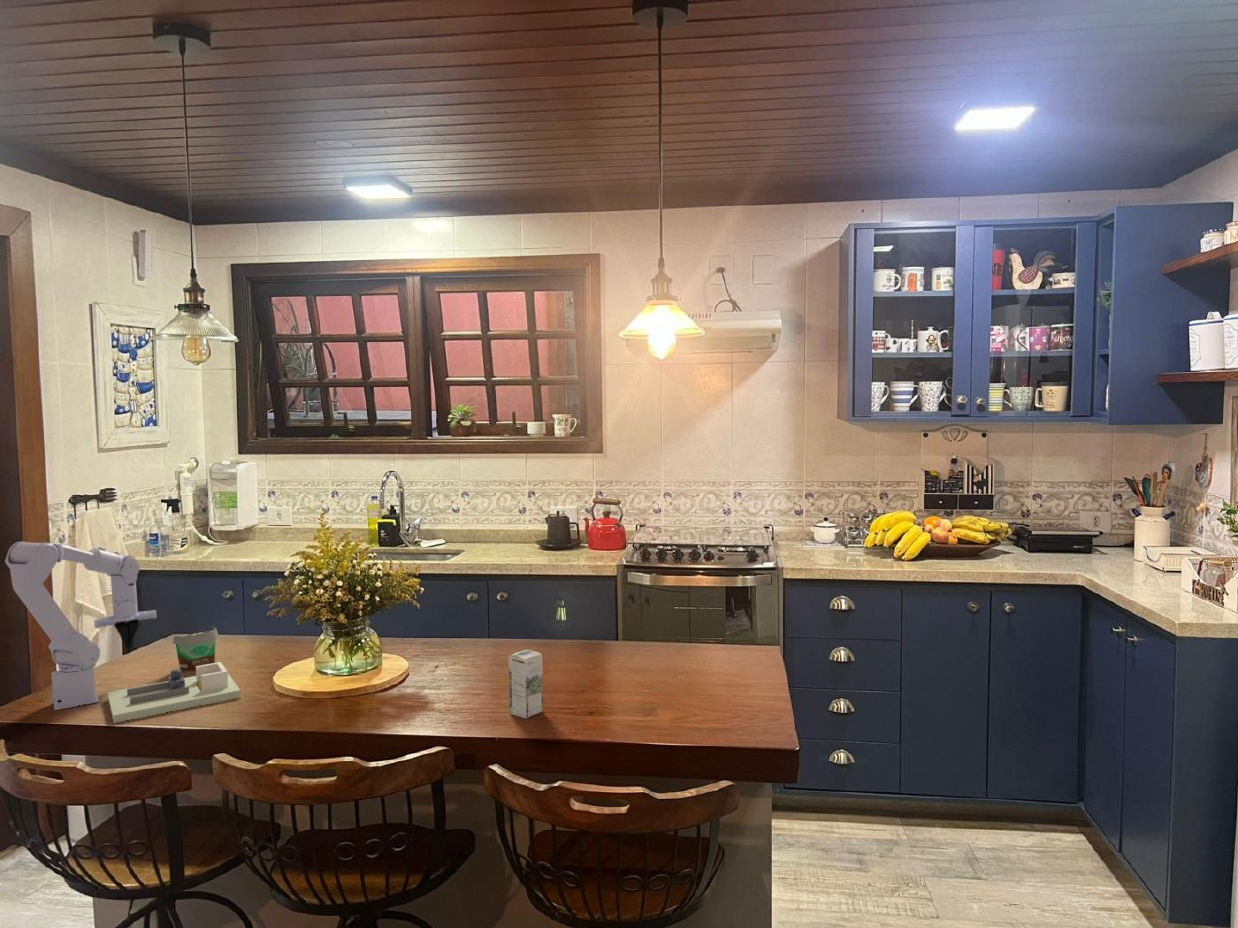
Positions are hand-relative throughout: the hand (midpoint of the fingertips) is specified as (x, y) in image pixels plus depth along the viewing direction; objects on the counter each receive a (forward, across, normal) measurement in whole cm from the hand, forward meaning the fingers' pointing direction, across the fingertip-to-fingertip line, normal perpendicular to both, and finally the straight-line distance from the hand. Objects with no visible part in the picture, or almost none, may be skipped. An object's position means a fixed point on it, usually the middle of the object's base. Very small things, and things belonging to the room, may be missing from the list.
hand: (128, 648), depth 230 cm
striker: (+7, +6, -23) cm, 25 cm away
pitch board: (+9, +5, -23) cm, 25 cm away
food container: (+10, +18, +1) cm, 21 cm away
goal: (+7, +14, -24) cm, 28 cm away
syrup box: (+10, +64, -95) cm, 115 cm away
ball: (+8, +13, -24) cm, 28 cm away
